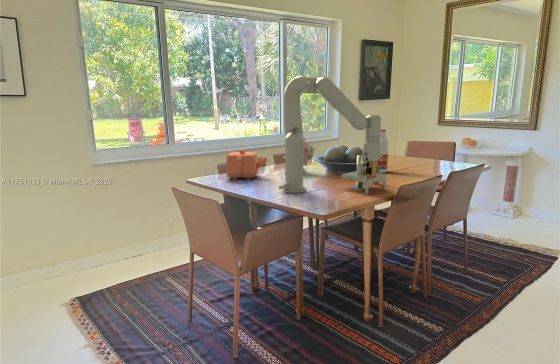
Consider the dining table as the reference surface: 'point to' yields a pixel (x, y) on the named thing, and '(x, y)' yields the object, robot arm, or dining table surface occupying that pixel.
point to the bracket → (377, 172)
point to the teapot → (243, 164)
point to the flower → (306, 152)
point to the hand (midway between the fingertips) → (371, 173)
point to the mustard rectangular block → (373, 169)
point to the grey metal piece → (363, 177)
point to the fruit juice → (383, 152)
